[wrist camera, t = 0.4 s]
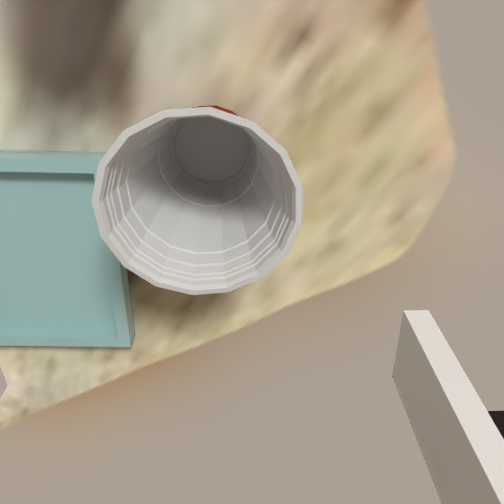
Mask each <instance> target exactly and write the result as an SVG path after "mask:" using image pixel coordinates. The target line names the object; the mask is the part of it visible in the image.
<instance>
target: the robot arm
mask: <svg viewBox="0 0 504 504" xmlns="http://www.w3.org/2000/svg"><path fill="white" fill-rule="evenodd" d="M392 377H393V379H394V382H395V384H396V387H397V389H398V392H399V395H400V397H401V400H402V402H403V405H404V408H405V410H406V413H407V415H408V418H409V420H410V423H411V425H412V428H413V431H414V433H415V436H416V439H417V441H418V443H419V446H420V449H421V451H422V454H423V457H424V459H425V462H426V464H427V467H428V470H429V472H430V475H431V477H432V480H433V482H434V485H435V488H436V490H437V493H438V495H439V498H440V500H441V503H442V504H504V411H487V410H486V408H485V406H484V405H483V403H482V401H481V400H480V398H479V396H478V394H477V393H476V391H475V389H474V388H473V386H472V384H471V382H470V381H469V379H468V377H467V376H466V374H465V372H464V371H463V369H462V367H461V365H460V364H459V362H458V361H457V359H456V357H455V355H454V353H453V352H452V350H451V348H450V347H449V345H448V343H447V341H446V340H445V338H444V336H443V335H442V333H441V331H440V330H439V328H438V326H437V324H436V323H435V321H434V319H433V317H432V316H431V314H430V312H429V311H428V310H413V311H412V310H410V311H403V318H402V323H401V329H400V335H399V341H398V347H397V353H396V359H395V364H394V371H393V376H392ZM6 387H7V383H6V380H5V378H4V375H3V373H2V370H1V367H0V397H1V395H2V394H3V392H4V391H5V389H6Z"/></svg>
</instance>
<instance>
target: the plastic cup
mask: <svg viewBox="0 0 504 504" xmlns="http://www.w3.org/2000/svg"><path fill="white" fill-rule="evenodd" d="M91 202H92V206H93V209H94V213H95V217H96V221H97V224H98V228H99V232H100V236H101V238H102V239H103V241H104V242H105V243H106V244H107V246H108V247H109V248H110V250H111V251H112V252H113V253H114V255H115V256H116V257H117V259H118V260H119V261H120V262H121V264H122V265H123V266H124V267H125V268H127V269H128V270H130V271H132V272H133V273H135V274H136V275H138V276H140V277H141V278H143V279H144V280H146V281H148V282H149V283H151V284H152V285H154V286H156V287H160V288H164V289H168V290H172V291H177V292H181V293H185V294H189V295H200V294H214V293H227V292H230V291H233V290H235V289H238V288H240V287H242V286H245V285H247V284H250V283H252V282H254V281H257V280H259V279H261V278H263V277H264V276H265V275H266V274H267V273H268V272H269V271H270V270H271V269H272V268H273V267H275V266H276V265H277V264H278V263H279V262H280V261H281V260H282V259H283V258H284V257H285V256H286V255H287V254H288V252H289V250H290V248H291V246H292V243H293V241H294V239H295V237H296V235H297V233H298V231H299V228H300V226H301V224H302V184H301V182H300V180H299V177H298V175H297V173H296V171H295V169H294V166H293V164H292V162H291V160H290V158H289V155H288V153H287V151H286V150H285V149H284V148H283V147H282V146H281V145H280V144H279V143H277V142H276V141H275V140H274V139H273V138H272V137H271V136H270V135H268V134H267V133H266V132H265V131H264V130H263V129H262V128H260V127H259V126H258V125H257V124H256V123H255V122H254V121H251V120H248V119H245V118H242V117H239V116H237V115H236V114H235V113H233V112H232V111H230V110H227V109H224V108H221V107H219V106H199V107H192V108H181V109H166V110H162V111H160V112H158V113H156V114H154V115H152V116H150V117H148V118H146V119H144V120H142V121H140V122H139V123H137V124H135V125H133V126H131V127H129V128H127V129H125V130H123V132H122V133H121V134H120V136H119V137H118V138H117V139H116V141H115V142H114V143H113V145H112V146H111V147H110V149H109V150H108V151H107V153H106V154H105V155H104V157H103V158H102V159H101V160H100V162H99V163H98V168H97V174H96V179H95V184H94V189H93V195H92V200H91Z"/></svg>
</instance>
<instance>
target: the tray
mask: <svg viewBox="0 0 504 504" xmlns="http://www.w3.org/2000/svg"><path fill="white" fill-rule="evenodd" d="M105 154H106V153H103V152H57V151H10V150H0V346H65V347H131V345H132V342H133V339H134V336H135V330H134V322H133V314H132V306H131V297H130V289H129V281H128V273H127V268H125V267H124V266H123V265H122V264H121V262H120V261H119V260H118V259H117V257H116V256H115V255H114V253H113V252H112V251H111V250H110V248H109V247H108V246H107V244H106V243H105V242H104V241H103V239H102V238H101V236H100V232H99V228H98V224H97V221H96V217H95V213H94V209H93V206H92V202H91V200H92V195H93V189H94V184H95V179H96V174H97V168H98V163H99V162H100V160H101V159H102V158H103V157H104V155H105Z"/></svg>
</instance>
